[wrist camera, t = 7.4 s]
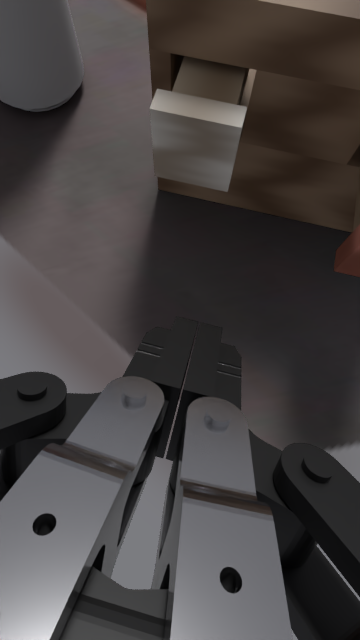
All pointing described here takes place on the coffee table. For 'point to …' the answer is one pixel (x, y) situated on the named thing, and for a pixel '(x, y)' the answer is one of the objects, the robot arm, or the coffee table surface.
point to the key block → (276, 99)
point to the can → (38, 54)
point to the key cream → (199, 124)
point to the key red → (350, 245)
